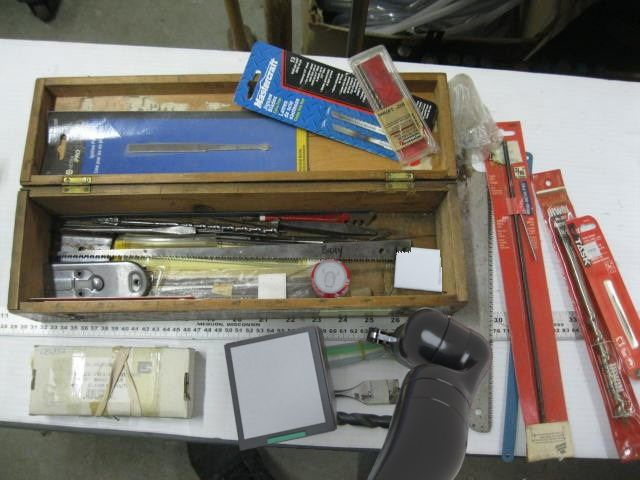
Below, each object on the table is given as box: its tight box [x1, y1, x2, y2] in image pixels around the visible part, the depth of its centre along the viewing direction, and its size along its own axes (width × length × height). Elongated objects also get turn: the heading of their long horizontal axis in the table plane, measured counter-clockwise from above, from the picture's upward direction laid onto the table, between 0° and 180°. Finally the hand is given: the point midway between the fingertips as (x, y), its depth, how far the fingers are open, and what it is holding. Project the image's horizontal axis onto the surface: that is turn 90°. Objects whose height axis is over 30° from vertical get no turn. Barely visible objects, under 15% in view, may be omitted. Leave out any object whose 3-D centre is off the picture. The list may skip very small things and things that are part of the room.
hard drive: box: [393, 246, 443, 293], centre depth 89 cm, size 2×8×12 cm
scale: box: [223, 325, 336, 452], centre depth 61 cm, size 14×13×3 cm
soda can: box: [310, 258, 351, 299], centre depth 84 cm, size 7×7×12 cm
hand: (402, 343), depth 85 cm, fingers open, 8 cm apart
